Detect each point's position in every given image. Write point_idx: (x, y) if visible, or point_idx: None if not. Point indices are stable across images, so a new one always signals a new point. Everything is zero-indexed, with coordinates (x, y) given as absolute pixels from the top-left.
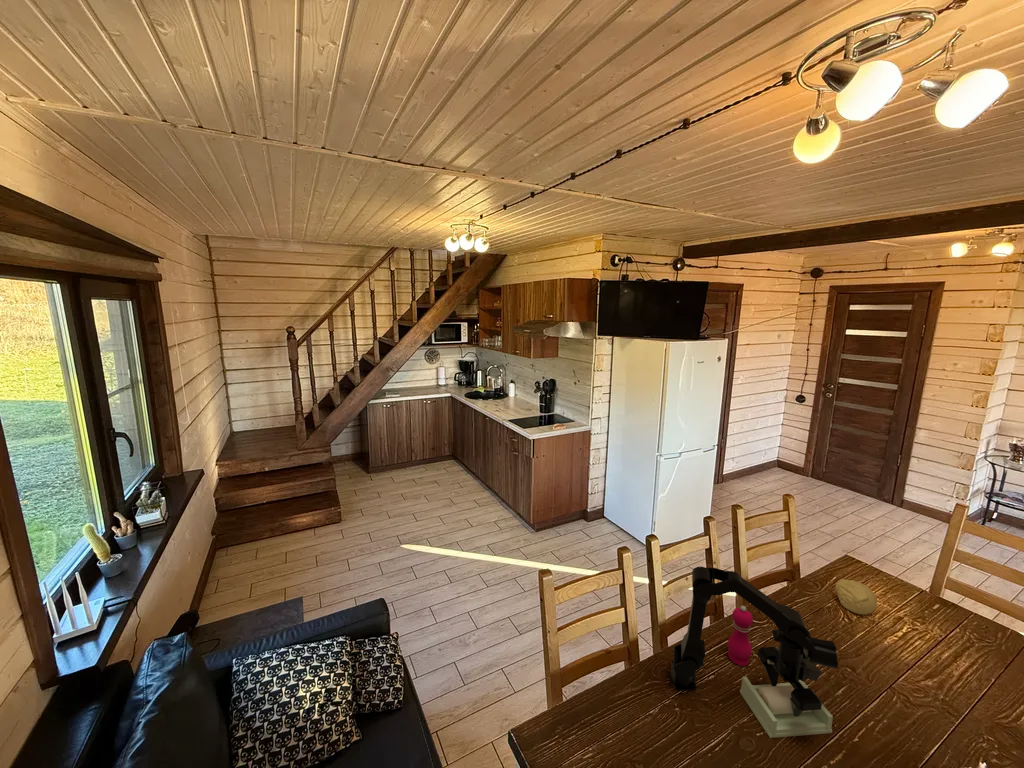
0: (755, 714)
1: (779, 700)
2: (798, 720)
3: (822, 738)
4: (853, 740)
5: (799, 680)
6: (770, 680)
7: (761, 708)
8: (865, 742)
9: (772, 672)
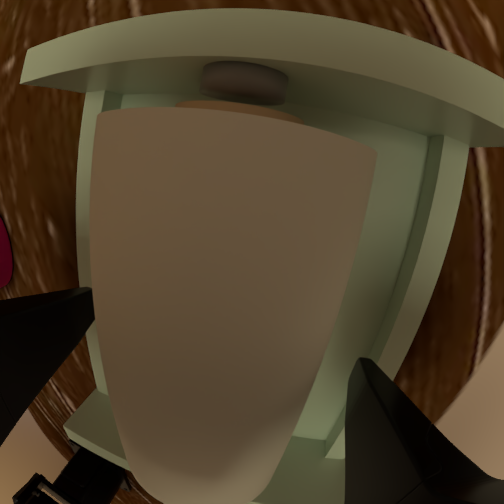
0: None
1: (248, 482)
2: None
3: (460, 208)
4: (494, 47)
5: (72, 59)
6: (61, 363)
7: None
8: (500, 11)
9: (2, 386)
